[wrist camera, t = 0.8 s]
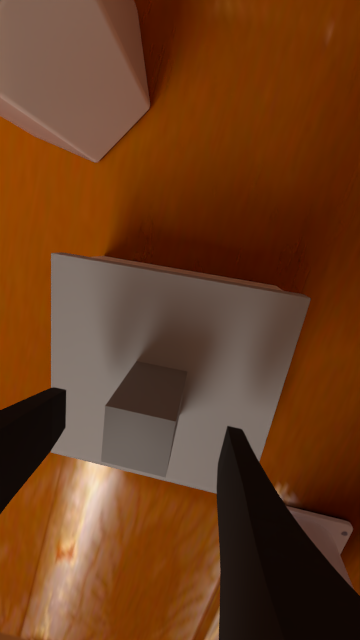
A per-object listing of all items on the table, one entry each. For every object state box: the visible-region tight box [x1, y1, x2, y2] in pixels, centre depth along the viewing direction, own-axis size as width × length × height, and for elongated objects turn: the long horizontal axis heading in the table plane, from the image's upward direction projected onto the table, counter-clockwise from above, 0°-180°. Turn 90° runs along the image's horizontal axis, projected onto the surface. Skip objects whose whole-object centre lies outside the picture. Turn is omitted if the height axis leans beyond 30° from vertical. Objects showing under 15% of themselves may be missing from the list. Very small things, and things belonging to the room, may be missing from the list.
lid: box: [51, 253, 311, 493], centre depth 12 cm, size 13×13×5 cm
